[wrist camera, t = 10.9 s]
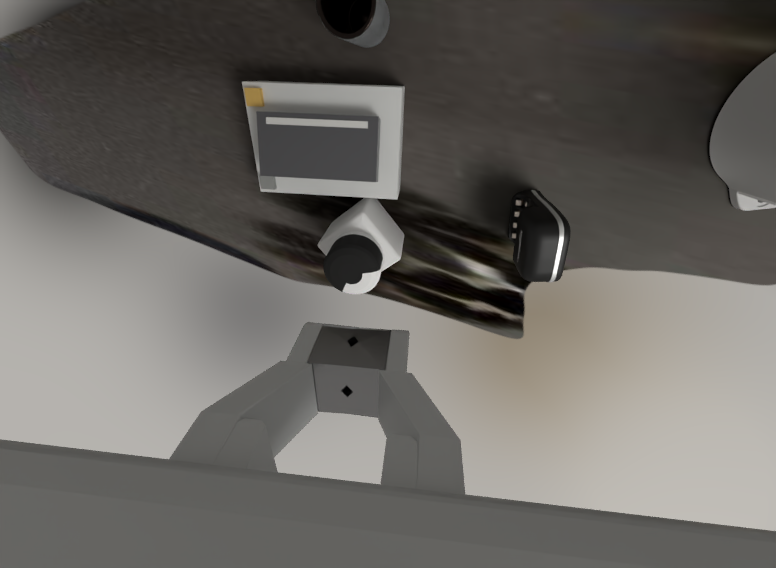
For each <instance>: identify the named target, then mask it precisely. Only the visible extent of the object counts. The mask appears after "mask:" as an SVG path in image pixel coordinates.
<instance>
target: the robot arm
mask: <svg viewBox="0 0 776 568" xmlns="http://www.w3.org/2000/svg"><path fill="white" fill-rule="evenodd" d="M710 158H711V162H712V165H713V168H714V170H715V171H716V173H717V174H718V175H719V177H720V178H721V179H722V180H723V181H724V182H725V183H726V184H727V185H728V187H729V193H730V200H731V203H732V205H733V207H735V208H737V209H740V210H744V211H749V210H759V209H768V208H776V52H775V53H774V54H772V55H771V56H770V57H768V58H767V59H766V60H764V61H763V62H762V63H761V64H759V65H758V66H757V67H756V68H755V69H754V70H753V71H752V72H750V73H749V74H748V75H747V76H746V77H745V78H744V80H743V81H742V82H741V83H740V84H739V85H738V86H737V88H736V89H735V90H734V91H733V93H732V94H731V95H730V97H729V98H728V100H727V101H726V103H725V104H724V106H723V108H722V109H721V111H720V113H719V115H718V117H717V119H716V122H715V124H714V127H713V130H712V134H711V139H710ZM408 345H409V331H404V330H384V329H371V328H359V327H351V326H341V325H332V324H320V323H311V322H307V323H306V324H305V325H304V326H303V328H302V330H301V332H300V334H299V337H298V338H297V340H296V342H295V345H294V347H293V348H292V350H291V353H290V355H289V356H288V358H287V360H286V361H280V362H278V363H277V364H275V365H274V366H272V367H271V368H269V369H268V370H266V371H264V372H263V373H261V374H260V375H258V376H257V377H255V378H253V379H252V380H250V381H249V382H247V383H246V384H244V385H242V386H241V387H239V388H238V389H236V390H234V391H233V392H232V393H230V394H228V395H227V396H225V397H224V398H222V399H220V400H219V401H217V402H216V403H214V404H213V405H211V406H209V407H208V408H206V409H205V410H203V411H202V412H201V413H200V414H199V416H198V417H197V419H196V420H195V422H194V423H193V425H192V426H191V427H190V429H189V430H188V432H187V434H186V435H185V436H184V438H183V440H182V441H181V442H180V444H179V445H178V447H177V448H176V450H175V451H174V453H173V454H172V456H171V457H170V459H169V460H168V459H159V458H152V457H143V456H135V455H126V454H118V453H109V452H101V451H93V450H84V449H76V448H67V447H58V446H50V445H41V444H33V443H24V442H17V441H8V440H0V568H776V531H768V530H760V529H752V528H743V527H734V526H726V525H718V524H710V523H701V522H693V521H684V520H675V519H667V518H659V517H650V516H642V515H633V514H625V513H617V512H608V511H600V510H591V509H583V508H575V507H566V506H557V505H549V504H541V503H532V502H524V501H514V500H507V499H498V498H490V497H482V496H473V495H465V487H464V476H463V465H462V454H461V442H460V439H459V438H458V436H457V435H456V434H455V432H454V431H453V429H452V428H451V427H450V425H449V424H448V423H447V421H446V420H445V418H444V417H443V416H442V415H441V413H440V412H439V410H438V409H437V407H436V406H435V405H434V403H433V402H432V401H431V399H430V398H429V396H428V395H427V394H426V392H425V391H424V389H423V388H422V387H421V385H420V384H419V383H418V381H417V380H416V378H415V377H414V376H413V375H412V373H407V372H406V371H407V357H408ZM318 411H319V412H332V413H345V414H354V415H361V416H369V417H377V418H378V419H379V422H380V424H381V426H382V428H383V431H384V433H385V435H386V437H387V440H386V448H385V455H384V463H383V471H382V478H381V485H380V484H371V483H362V482H354V481H345V480H337V479H328V478H320V477H311V476H303V475H295V474H286V473H278V472H277V468H276V464H275V460H274V457H275V456H276V455H277V454H278V453H279V452H280V451H281V450H282V449H283V448H284V447H285V446H286V445H287V444H288V443H289V442H290V441H291V440H292V439H293V438H294V437H295V436H296V435H297V434H298V433H299V432H300V431H301V430H302V429H303V428H304V427H305V426H306V425H307V424H308V423H309V422H310V421H311V420H312V418H314V417H315V416H316V415H317V414H318Z"/></svg>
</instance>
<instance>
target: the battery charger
mask: <svg viewBox="0 0 776 568" xmlns="http://www.w3.org/2000/svg"><path fill="white" fill-rule="evenodd" d="M508 235H509V238H510V240H511V241H512V242H514V243H515V245H514V253H513V261H514V263H515V265H516V267H517V269H518V271H519V273H520V274H521V276H522V277H523V278H524V279H525V280H528V281H532V282H553V281H558V280H559V279H560V278H561V276H562V273H563V269H564V265H565V260H566V256H567V251H568V246H569V241H570V226H569V223H568V221H567V219H566V218H565V217H564V216H563V214H562V213H561V212H560V211H559V210H558V209H557V208H556V207H555V206H554V205H553V204H552V203H550V202H549V201H548V200H547V199H546V198H545V197H544V196H543V195H542V194H541V192H540V191H537V190H530V191H523V192H520V193H517V194H516V195H515V196H514V197H513V199H512V204H511V213H510V222H509V232H508Z"/></svg>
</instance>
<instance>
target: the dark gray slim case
mask: <svg viewBox="0 0 776 568" xmlns="http://www.w3.org/2000/svg"><path fill="white" fill-rule="evenodd" d="M256 115H257V131H258V148H259V165H260V176H273V177H291V178H309V179H326V180H344V181H362V182H378V172H379V148H380V124H381V119H380V118H379V116H358V115H335V114H311V113H287V112H263V111H256Z"/></svg>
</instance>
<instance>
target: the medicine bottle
mask: <svg viewBox="0 0 776 568" xmlns="http://www.w3.org/2000/svg"><path fill="white" fill-rule="evenodd" d="M403 240H404V233H403V232H402V231H401V229H400V228H399V227H398V226H397V224H396V223H395V222H394V221H393V219H392V218H391V217H390V215H389V214H388V213H387V212H386V210H385V209H384V208H383V206H382V205H381V204H380V203H379V201H378V200H377V199H376V198H363V199H362V200H361V201H359V202H358V203H357V204H355V205H354V206H353V207H351V208H350V209H349V210H347V211H346V212H345V213H343V214H342V215H341V216H339V217H338V218H337V219H336V220H334V221H333V222H332V223H331V224H330V226H329V227H328V229H327V231H326V232H325V234H324V235H323V237H322V238H321V240H320V241H319V243H318V247H319V248H320V249H321V250H322V252H323V253H324V254H325V255H326V258H325V260H324V273H325V276H326V278H327V279H328V281H329V282H330V283H331V284H332V285H333V286H334V287H335V288H336V289H338V290H340V291H342V292H344V293H348V294H362V293H365V292H368V291H370V290H371V289H372V288H374V287H375V286H376V284H377V283H378V281H379V278H380V274H381V271H383V270H385V269H386V268H388V267H389V266H391V265H393V264H394V263H396V262H397V261H399V260H400V259H401V253H402V246H403Z"/></svg>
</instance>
